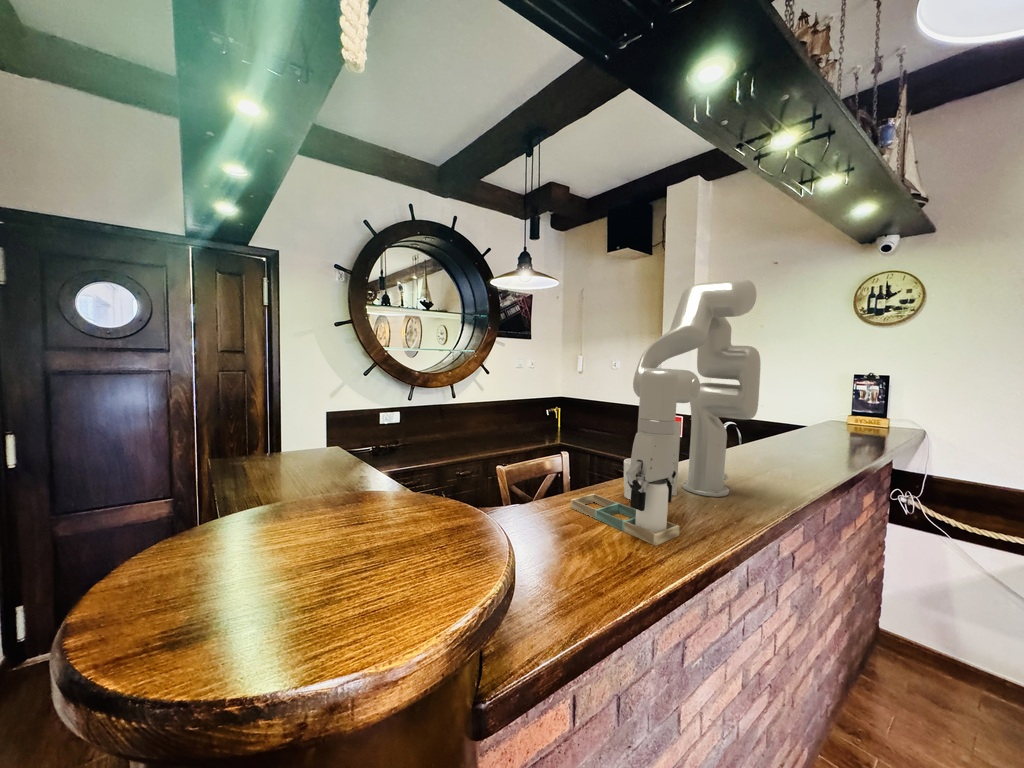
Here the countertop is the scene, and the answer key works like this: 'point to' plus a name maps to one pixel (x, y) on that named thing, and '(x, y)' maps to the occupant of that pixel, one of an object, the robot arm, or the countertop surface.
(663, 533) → the slot rack
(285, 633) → the countertop surface
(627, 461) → the white cup
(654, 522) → the can
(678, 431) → the paper towel roll
